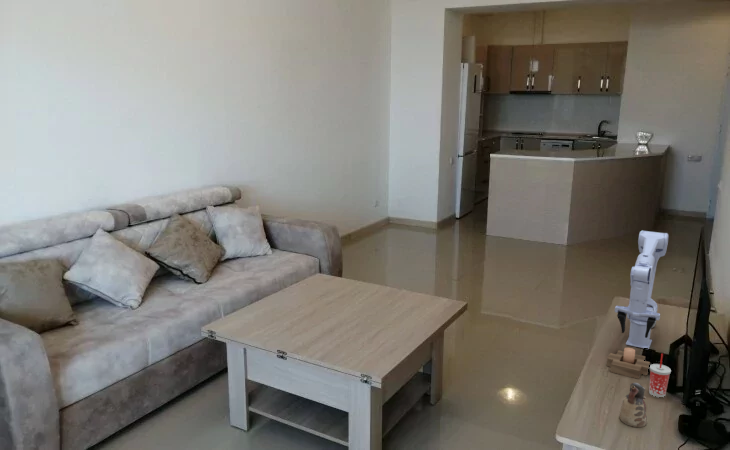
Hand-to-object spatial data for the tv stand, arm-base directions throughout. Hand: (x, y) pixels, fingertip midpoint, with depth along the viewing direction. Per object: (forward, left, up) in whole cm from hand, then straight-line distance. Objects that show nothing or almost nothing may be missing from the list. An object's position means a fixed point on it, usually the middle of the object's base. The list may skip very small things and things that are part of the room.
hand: (634, 334), depth 203 cm
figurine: (+44, +7, -10) cm, 46 cm away
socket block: (+9, 0, -9) cm, 13 cm away
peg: (+9, 0, -9) cm, 13 cm away
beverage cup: (+23, +11, -10) cm, 27 cm away
